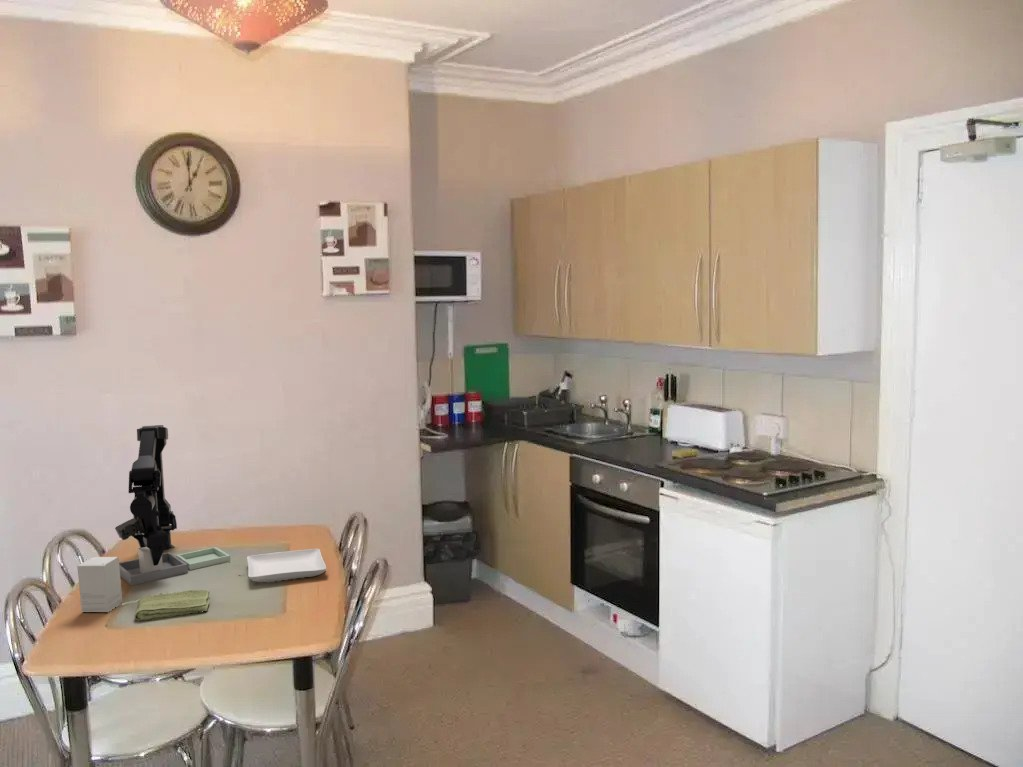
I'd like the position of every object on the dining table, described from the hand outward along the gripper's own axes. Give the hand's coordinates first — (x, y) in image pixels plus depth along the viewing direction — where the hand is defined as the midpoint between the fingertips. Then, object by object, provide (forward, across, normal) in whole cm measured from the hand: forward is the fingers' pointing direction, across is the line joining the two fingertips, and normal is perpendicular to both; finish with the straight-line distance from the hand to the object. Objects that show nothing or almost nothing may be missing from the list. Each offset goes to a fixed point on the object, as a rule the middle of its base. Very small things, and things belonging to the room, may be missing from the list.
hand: (150, 561), depth 247 cm
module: (+3, 0, 0) cm, 3 cm away
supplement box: (+4, +19, -18) cm, 27 cm away
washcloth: (+4, +32, -4) cm, 33 cm away
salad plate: (+4, +25, +30) cm, 39 cm away
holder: (+4, 0, +15) cm, 15 cm away
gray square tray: (+4, 0, 0) cm, 4 cm away
